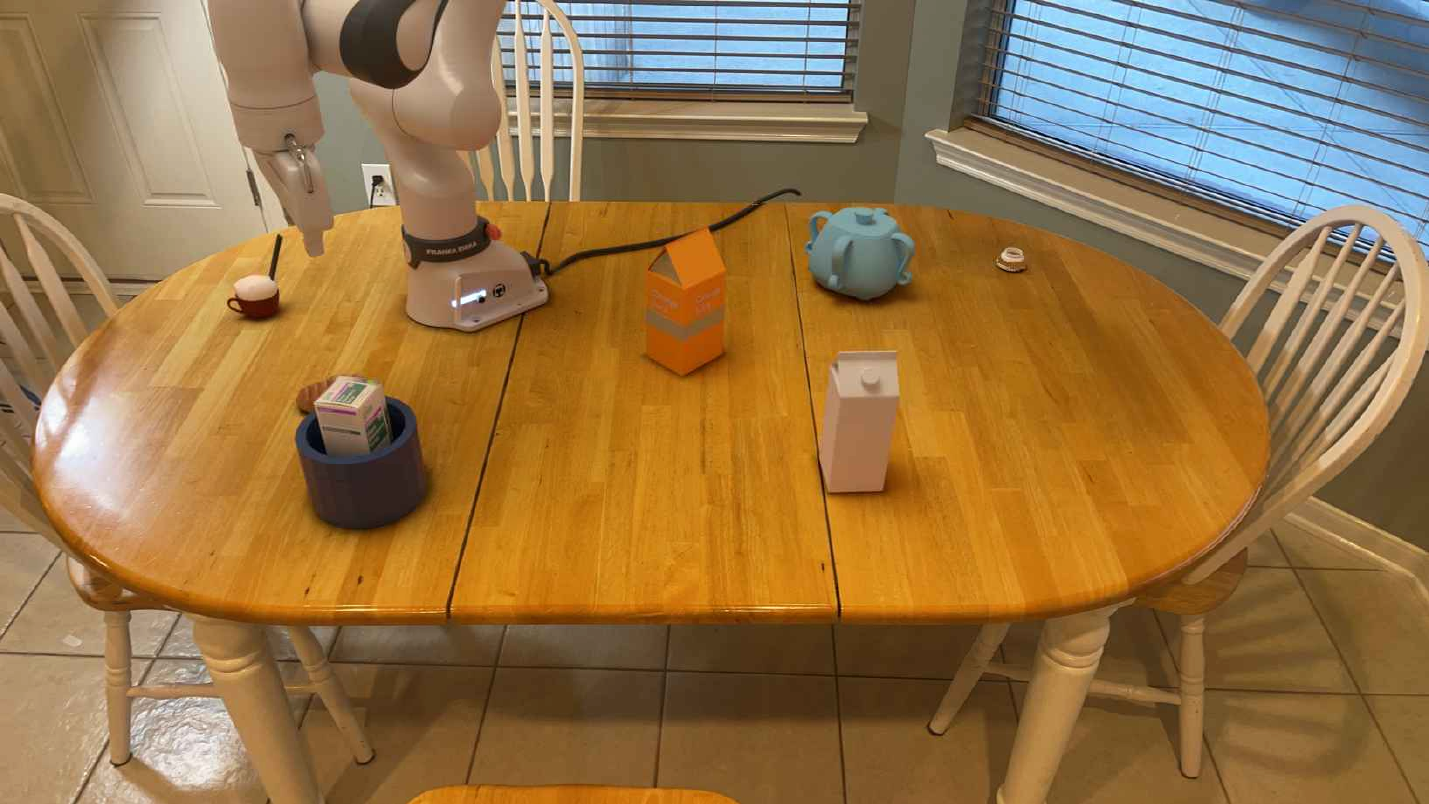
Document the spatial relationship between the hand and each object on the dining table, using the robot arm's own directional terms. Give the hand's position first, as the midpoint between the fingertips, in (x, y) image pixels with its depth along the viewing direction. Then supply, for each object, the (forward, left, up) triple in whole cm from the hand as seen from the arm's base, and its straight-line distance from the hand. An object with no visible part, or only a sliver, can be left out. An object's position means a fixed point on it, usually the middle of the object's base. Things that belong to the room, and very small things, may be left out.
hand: (304, 237), depth 118 cm
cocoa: (+2, -38, -29) cm, 48 cm away
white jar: (-114, +9, -29) cm, 118 cm away
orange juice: (-49, +5, -29) cm, 57 cm away
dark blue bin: (+1, +12, -29) cm, 32 cm away
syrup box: (+1, +12, -28) cm, 31 cm away
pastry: (-1, -8, -29) cm, 30 cm away
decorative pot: (-86, 0, -29) cm, 91 cm away
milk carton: (-53, +40, -29) cm, 73 cm away
